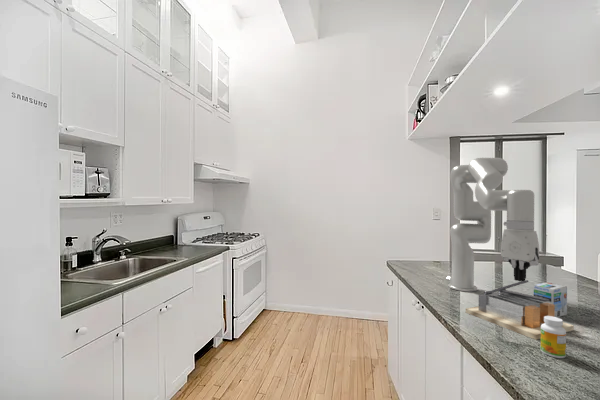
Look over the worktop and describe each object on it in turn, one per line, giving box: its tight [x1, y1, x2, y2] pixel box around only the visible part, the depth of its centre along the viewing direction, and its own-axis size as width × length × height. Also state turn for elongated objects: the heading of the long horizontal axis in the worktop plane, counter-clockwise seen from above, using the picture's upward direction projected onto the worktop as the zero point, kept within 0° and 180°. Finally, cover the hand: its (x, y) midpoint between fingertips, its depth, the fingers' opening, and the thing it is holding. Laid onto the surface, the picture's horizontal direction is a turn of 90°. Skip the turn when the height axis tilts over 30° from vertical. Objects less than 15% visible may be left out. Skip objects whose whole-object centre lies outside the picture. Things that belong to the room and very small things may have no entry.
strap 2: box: [498, 289, 549, 302], centre depth 108 cm, size 16×3×1 cm, turn 22°
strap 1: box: [483, 279, 529, 295], centre depth 106 cm, size 16×3×1 cm, turn 23°
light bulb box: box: [533, 281, 568, 318], centre depth 114 cm, size 11×7×11 cm, turn 117°
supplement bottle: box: [539, 316, 567, 359], centre depth 83 cm, size 5×5×10 cm
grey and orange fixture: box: [478, 291, 555, 328], centre depth 106 cm, size 18×14×6 cm
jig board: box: [465, 305, 575, 340], centre depth 106 cm, size 24×20×2 cm
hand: (519, 280), depth 101 cm, fingers closed
